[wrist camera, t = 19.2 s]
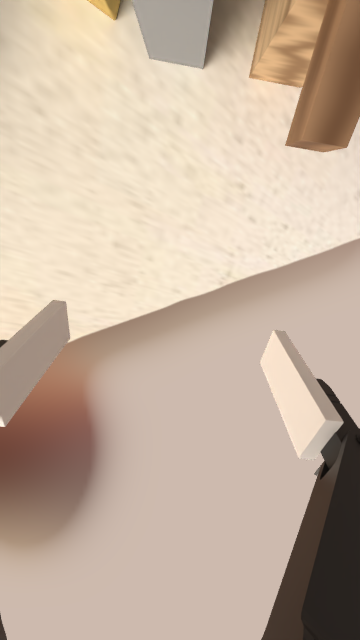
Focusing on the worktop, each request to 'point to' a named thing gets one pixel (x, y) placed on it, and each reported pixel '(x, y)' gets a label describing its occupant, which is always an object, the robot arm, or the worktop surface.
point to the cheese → (107, 7)
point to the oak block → (287, 40)
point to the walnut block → (331, 83)
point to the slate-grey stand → (175, 29)
